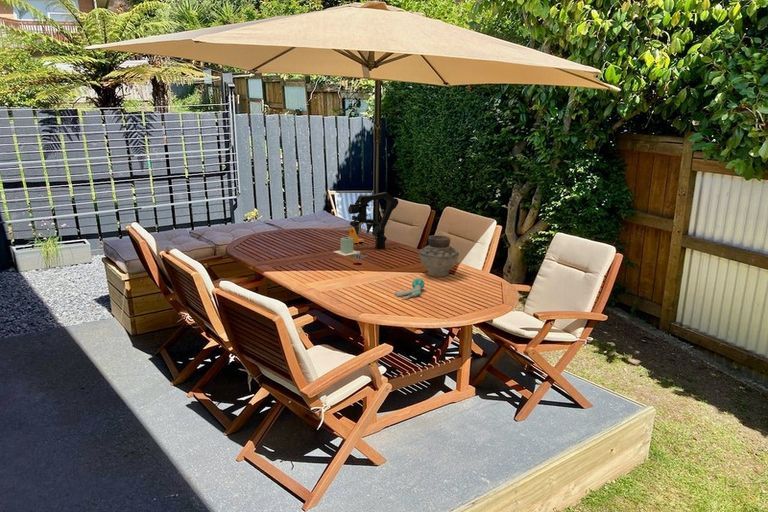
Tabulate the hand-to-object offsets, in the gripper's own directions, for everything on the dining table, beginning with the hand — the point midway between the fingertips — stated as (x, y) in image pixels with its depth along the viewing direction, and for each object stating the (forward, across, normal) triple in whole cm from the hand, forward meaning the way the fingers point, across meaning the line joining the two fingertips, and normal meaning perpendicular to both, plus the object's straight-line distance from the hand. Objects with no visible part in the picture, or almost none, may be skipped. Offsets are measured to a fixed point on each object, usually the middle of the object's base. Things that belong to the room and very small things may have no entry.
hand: (362, 234), depth 427 cm
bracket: (+12, -11, -22) cm, 28 cm away
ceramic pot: (+12, -2, +77) cm, 78 cm away
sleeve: (+11, +16, +3) cm, 19 cm away
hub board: (+12, +16, +3) cm, 20 cm away
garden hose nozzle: (+13, +38, +97) cm, 105 cm away
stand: (+12, +16, +17) cm, 26 cm away
